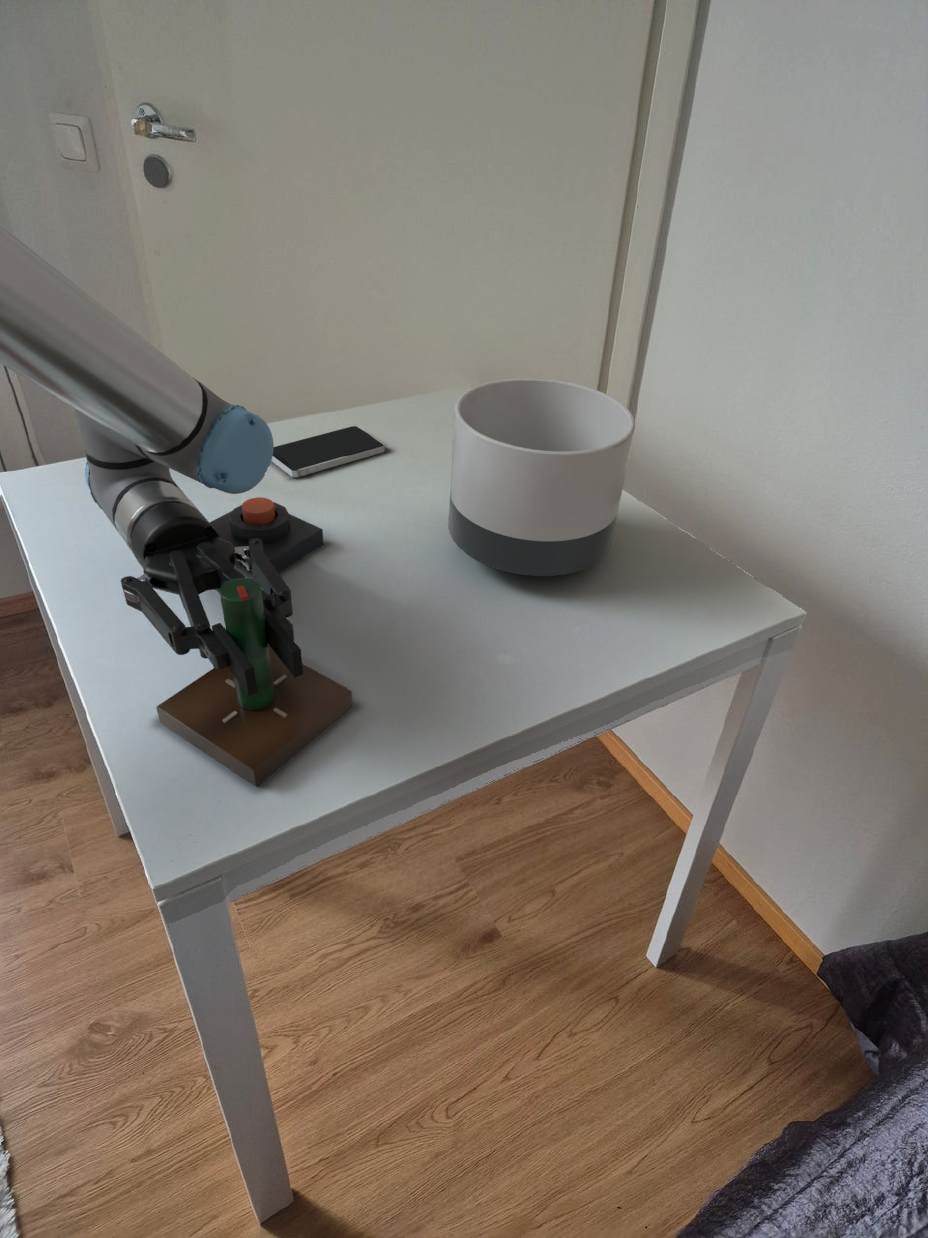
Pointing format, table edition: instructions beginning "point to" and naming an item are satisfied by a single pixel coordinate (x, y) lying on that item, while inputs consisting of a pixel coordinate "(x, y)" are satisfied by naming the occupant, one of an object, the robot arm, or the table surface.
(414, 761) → the table surface
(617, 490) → the planter
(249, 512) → the button
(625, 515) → the table surface
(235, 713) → the dial base
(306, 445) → the smartphone
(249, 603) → the dial knob
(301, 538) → the button box
